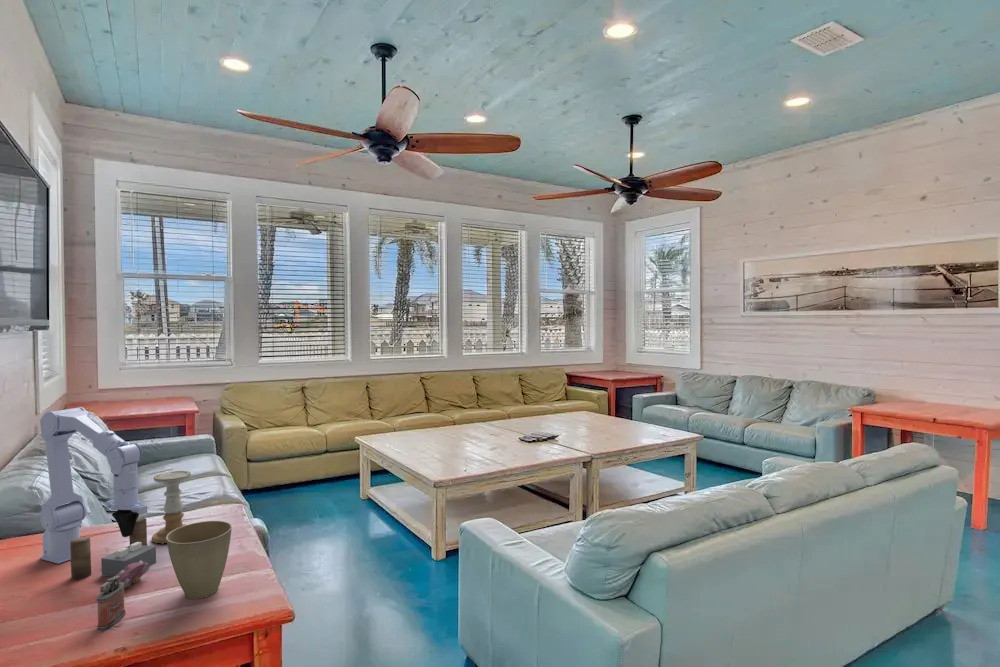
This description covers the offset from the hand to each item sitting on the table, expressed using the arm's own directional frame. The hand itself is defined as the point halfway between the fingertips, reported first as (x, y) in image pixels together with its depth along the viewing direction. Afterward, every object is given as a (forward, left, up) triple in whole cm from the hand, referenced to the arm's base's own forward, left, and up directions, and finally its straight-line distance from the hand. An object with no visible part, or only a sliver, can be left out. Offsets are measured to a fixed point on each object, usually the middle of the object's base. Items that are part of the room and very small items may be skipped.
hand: (127, 535), depth 160 cm
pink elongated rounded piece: (+10, -6, -10) cm, 15 cm away
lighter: (+25, -20, -10) cm, 33 cm away
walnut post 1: (-7, -8, -9) cm, 14 cm away
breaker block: (+1, 0, -10) cm, 10 cm away
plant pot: (+32, -2, -10) cm, 33 cm away
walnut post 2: (-7, +8, -9) cm, 14 cm away
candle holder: (-9, +21, -10) cm, 25 cm away
